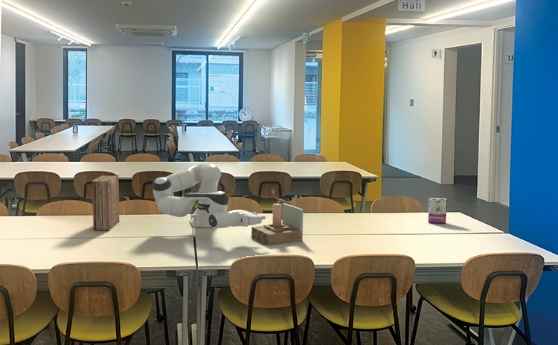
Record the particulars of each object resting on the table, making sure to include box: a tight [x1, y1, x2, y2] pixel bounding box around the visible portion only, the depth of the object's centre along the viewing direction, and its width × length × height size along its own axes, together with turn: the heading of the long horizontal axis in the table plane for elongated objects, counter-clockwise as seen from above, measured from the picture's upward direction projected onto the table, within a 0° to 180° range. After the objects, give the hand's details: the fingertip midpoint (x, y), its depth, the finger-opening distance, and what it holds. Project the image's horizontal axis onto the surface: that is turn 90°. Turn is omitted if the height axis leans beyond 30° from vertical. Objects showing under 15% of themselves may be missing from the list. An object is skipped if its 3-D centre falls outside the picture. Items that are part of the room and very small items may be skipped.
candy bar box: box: [427, 197, 448, 225], centre depth 362 cm, size 11×5×16 cm, turn 81°
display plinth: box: [250, 203, 304, 246], centre depth 312 cm, size 20×22×18 cm
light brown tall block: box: [272, 203, 282, 228], centre depth 311 cm, size 5×5×14 cm
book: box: [91, 174, 120, 232], centre depth 333 cm, size 25×9×30 cm, turn 3°
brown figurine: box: [271, 187, 292, 221], centre depth 337 cm, size 11×13×25 cm
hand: (260, 215), depth 306 cm, fingers open, 8 cm apart
